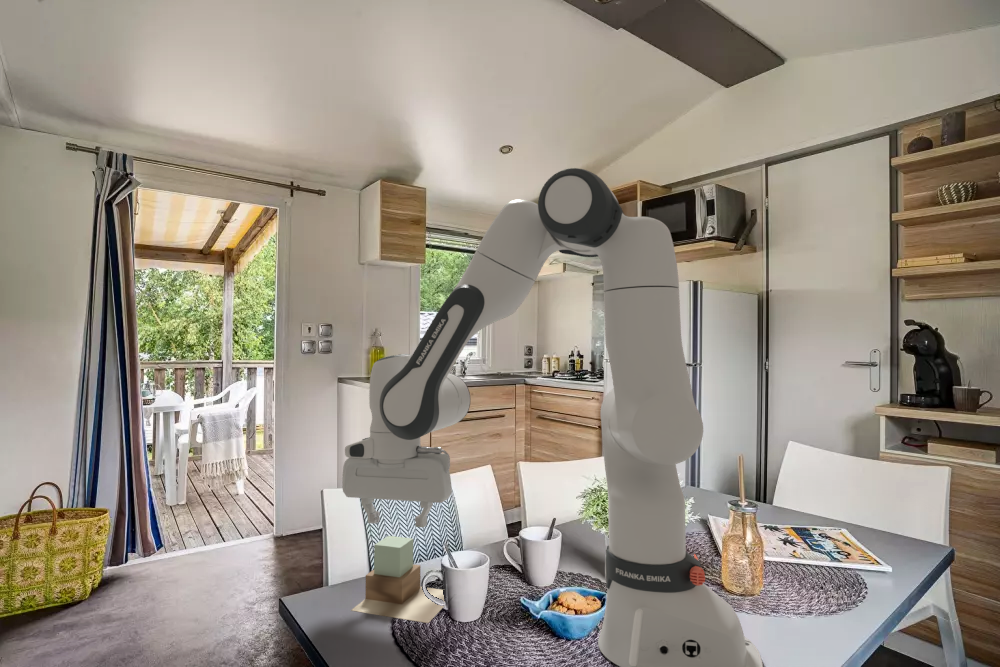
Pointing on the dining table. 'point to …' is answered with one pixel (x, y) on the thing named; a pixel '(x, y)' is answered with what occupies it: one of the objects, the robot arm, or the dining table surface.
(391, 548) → the sage cube
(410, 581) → the walnut base
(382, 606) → the birch board
